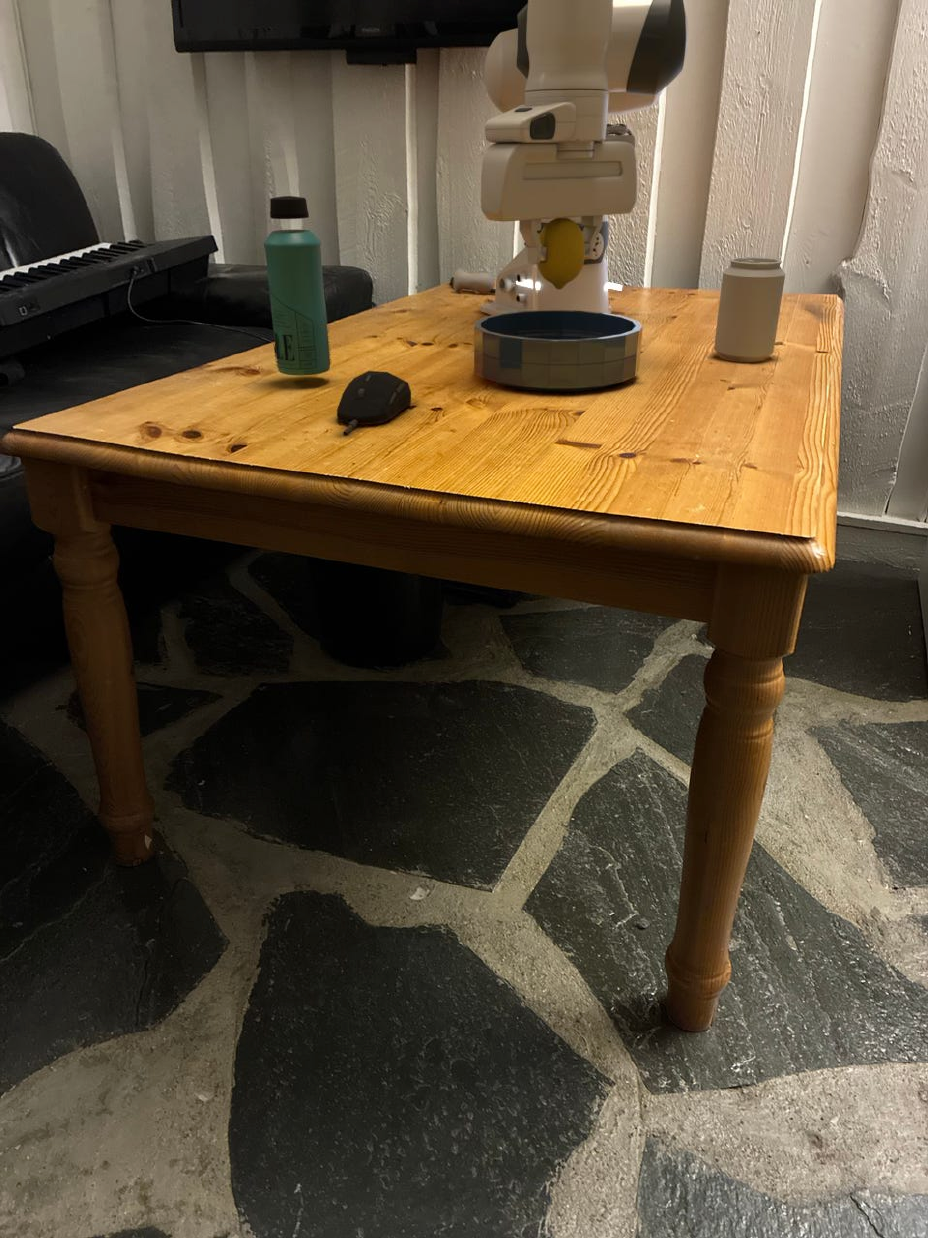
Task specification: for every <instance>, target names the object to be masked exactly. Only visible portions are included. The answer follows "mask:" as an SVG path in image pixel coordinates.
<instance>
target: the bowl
mask: <svg viewBox="0 0 928 1238" xmlns="http://www.w3.org/2000/svg"><path fill="white" fill-rule="evenodd" d="M643 328H644V325H642V324H641V323H640V322H639V321H638V320H636V319H633V318H631V317H628V316H624V315H619V314H613V313H611V314H609V313H600V312H591V311H575V310H532V311H517V312H508V313H501V314H495V315H487V316H484V317H481V318H479V319H478V320H476V321H474V322H473V330H474V331H473V345H474V346H473V352H474V353H473V356H474V358H473V360H474V362H473V368H474V369H473V371H474V373H475V374H477V375H478V376H479V377H481V378H483V379H486V380H489V381H493V382H496V383H497V384H500V385H503V386H506V387H511V388H514V389H521V390H528V391H538V392H560V393H561V392H581V391H582V392H583V391H590V390H591V391H593V390H597V389H603V388H606V387H610V386H613V385H615V384H620V383H623V382H625V381H628V380H630V379H633V378H635V377H636V376H637V375H638V373H639V371H640V365H641V364H640V363H641V350H642V339H643Z"/></svg>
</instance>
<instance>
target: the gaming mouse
mask: <svg viewBox="0 0 928 1238" xmlns="http://www.w3.org/2000/svg"><path fill="white" fill-rule="evenodd" d="M411 401H412V390H411V387H410V384H409V382H407V381H406V380H404V379H402V378H400V377H398V376H396V375H394V374H392V373H390V372H389V371H379V370H378V371H376V370H367V371H365V372H364V373H361V374H360V375H357V376H355V377H354V378H353V379H352V380H350V382H349V383H348V384H347V386H346V387H345V389H344V391H343V392H342V395H341V398H340V400H339V403H338V406H337V409H336V417H337V420H338V421H339V422H342V423H348V425H347V427H346V429H345V430H343V436H347V435H348V434H349V433H350V431H351V430H354V429H355V428H356V427H357V426H358V425H377V424H382V423H386V422H388V421H389V420H391V419H392V418H394V417H395V416H396V415H398V414H399V413H400V412H401V411H404V410H405V409H406V408H407V407H408V406H409V405H410V404H411Z"/></svg>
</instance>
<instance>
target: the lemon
mask: <svg viewBox="0 0 928 1238" xmlns="http://www.w3.org/2000/svg"><path fill="white" fill-rule="evenodd" d="M539 239H540V242H541V245H542V246H546V247H548V249H547V255H546V256H547V261H546V263H541V264H537V265H538V269H539V271H540V273H541V275H542V276H543V277H544V278H545V279H546V280H547V281H549V282H550V283H552V284H553V285H554V287H555V288H556V289H558V290H560V289H562V288H563V287H564V286H565V285H566V284H567V283H569V282H570V281H572V280H574V279H575V278H576V277H577V276H578V274H579V273H580V271H581V269H582V267H583V264H584V259H585V243H584V237H583V234H582V231H581V229H580V227H579V226H578V225H577V224H576V223H575V222H574V221H572V220H570V219H568V218H556V219H554V220H552V221H550V222H549V223H548V224H547V225H546V226H545V227H544V228H543V229H542V231H541V233H540V236H539Z"/></svg>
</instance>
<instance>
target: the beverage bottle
mask: <svg viewBox="0 0 928 1238" xmlns="http://www.w3.org/2000/svg"><path fill="white" fill-rule="evenodd" d="M269 210H270V211H269V216H270V217H269V218H270V219H272V220H273V219H274V220H298V219H299V220H300V219H308V218H310V216H309V215H310V214H309V210H308V203H307V198H305V197H301V196H293V195H284V196H277V197H271V198H270V200H269ZM321 246H322V242H321V240H320V238H319V237H318V236H317V235H316V234H314V232H313V231H311V229H279V230H272V231H271V232H270V233H269V234H268V235H267V237H266V238H265V240H264V241H263V248H264V251H265V253H264V254H265V260H266V261H265V262H266V270H267V271H266V272H267V273H266V274H267V287H268V290H267V292H268V293H269V294H268V295H267V296H268V298H269V301H270V302H269V303H270V311H271V318H272V319H271V320H272V321H271V322H272V323H271V325H272V335H273V339H272V341H273V344H274V346H273V349H274V350H273V351H274V352H273V353H274V358H275V366H276V367H277V370H278V372H279V373H280V374H282V375H286V376H287V375H288V376H313V375H320V374H324V373H326V372H327V373H328V372H329V371H330V370H331V369H330V368H331V364H332V362H333V361H332V360H331V359H332V355H331V354H332V353H331V352H332V351H331V344H330V341H331V340H330V335H329V333H330V331H329V329H330V328H329V327H330V326H328V319H329V317H328V316H327V315H328V312H327V301H326V299H325V289H324V288H325V286H324V275H323V273H324V272H323V263H322V250H321V249H322V248H321Z"/></svg>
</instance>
